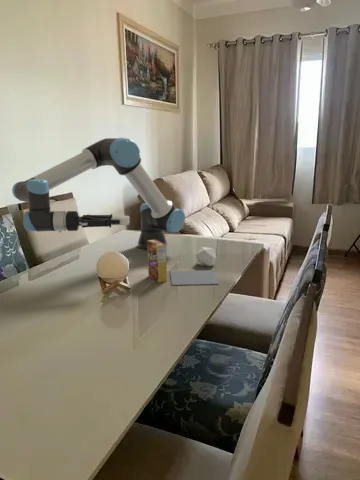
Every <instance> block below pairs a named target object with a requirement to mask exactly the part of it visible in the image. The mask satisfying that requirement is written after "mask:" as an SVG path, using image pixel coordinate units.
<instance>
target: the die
mask: <svg viewBox="0 0 360 480" xmlns="http://www.w3.org/2000/svg"><path fill="white" fill-rule="evenodd" d="M195 256H196V259H197V262H198V265H199V266H203V267H204V266H205V267H211V266H212V265H213V264H214V263H215V261H216V260H217V255H216V253H215V249H214V248H213V247H206V246H201V248H200V249H199V250H198V252H197V253H196V254H195Z"/></svg>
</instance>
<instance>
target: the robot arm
mask: <svg viewBox="0 0 360 480" xmlns="http://www.w3.org/2000/svg"><path fill="white" fill-rule="evenodd" d="M140 152H141V150H140V148H139V146H138V144H137V143H136V142H135V141H133V139H130V138H126V137H118V138H116V137H115V138H112V137H111V138H103V139H100V140H98V141H96V142H94V143H93V144H91V145H89V146H87V147H85V148H82V150H81V152H79V154H76V155H74V156H73V157H70V158H69V159H66V160H65V161H62V162H61V163H58V164H56V165H54V166H52V167H51V168H48V169H46V170H44V171H42V172H40V173H38V174H37V175H35V176H33V177H30V178H28V179H26V180H24V181H23V180H22V181H17V182H16V183H14V184H13V186H12V189H11V190H12V195H13V197H14V198H16V200H18V201H20V202H24V203H28V211H26V212H24V214H23V216H22V217H23V219H22V222H23V223H22V225H23V227H24V229H25V230H26V231H27V232H38V233H39V232H59V233H61V232H66V231H68V232H77V231H78V230H79V227H81V228H83V229H84V228H99V227H103V228H104V227H106V228H107V227H108V228H112V226H128V225H130V216H129V215H113V213H110V214H82V216H80V215H79V212H78V211H77V210H71V211H70V210H68V211H65V210H56V211H55V210H53V211H52V210H51V204H50V203H51V202H50V190H53V189H54V188H56V187H59V186H60V185H62V184H64V183H66V182H68V181H70V180H71V179H74V178H75V177H77V176H79V175H81V174H83V173H85V172H87V171H88V170H90V169H91V170H95V169H97V168H100V167H103V166H110V167H111V166H112V167H113V168H114V169H115V171H116V172H117V173H118V174H119V175H120V176H125V178H126V179H127V180H128V182H129V183H130V184H131V185H132V187H133V189H135V191H136V192H137V193H138V195H139V196H140V197H141V199H142V200H143V201H144V203H141V205H140V209H139V212H140V234H139V238H138V242H137V247H138V249H142V250H145V251H146V250H147V251H148V249H147V241H149V240H155V239H156V240H157V241H160V242H162V243H164V244H166V248H167V246H168V241H167V239H166V236H165V232H164V231H166V232H169V233H178V232H179V231H181V230H182V229H183V227H184V225H185V223H186V214H185V212H184V211H183V210H182V209H181V208H177V207H176V206H175V204H174V203H173V201H171V200H169V199H166V197H165V195H163V194H162V192H161V190H160V189H159V188H158V186H157V185H156V183H155V182H154V181H153V180H152V178H151V177H150V175H149V174H148V172H147V171H146V170H145V168H144V167H143V165H142V164H141V162H142V158H141V155H140Z"/></svg>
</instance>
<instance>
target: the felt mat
mask: <svg viewBox="0 0 360 480" xmlns="http://www.w3.org/2000/svg"><path fill="white" fill-rule="evenodd" d="M169 274H170V275H169V276H170V282H171V286H215V285H216V286H218V285H219V282H218V279H217V277H216V274H215V272H214V270H213V269H210V270H209V269H207V270H202V269H200V270H170V271H169Z"/></svg>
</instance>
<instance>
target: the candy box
mask: <svg viewBox="0 0 360 480" xmlns="http://www.w3.org/2000/svg"><path fill="white" fill-rule="evenodd" d="M147 249H148V250H147V264H148V266H147V268H148V271H147V272H148V277H149V278H151V279H152V280H154V281H155V282H157V283H164V282H167V281H168V273H167V270H168V268H167V267H168V265H167V264H168V263H167V261H168V260H167V247H166V244H164V243H162V242H160V241H157V240H156V239H155V240H149V241H147Z"/></svg>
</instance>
